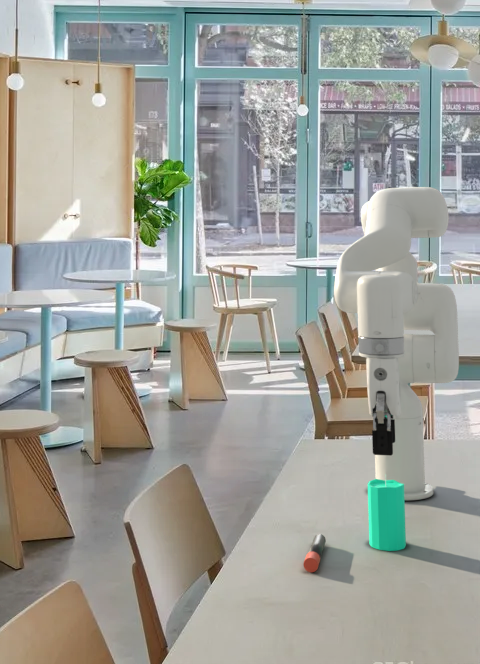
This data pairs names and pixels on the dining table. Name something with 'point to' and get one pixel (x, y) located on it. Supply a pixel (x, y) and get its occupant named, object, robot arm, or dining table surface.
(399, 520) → the candle
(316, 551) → the marker
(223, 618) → the dining table surface
